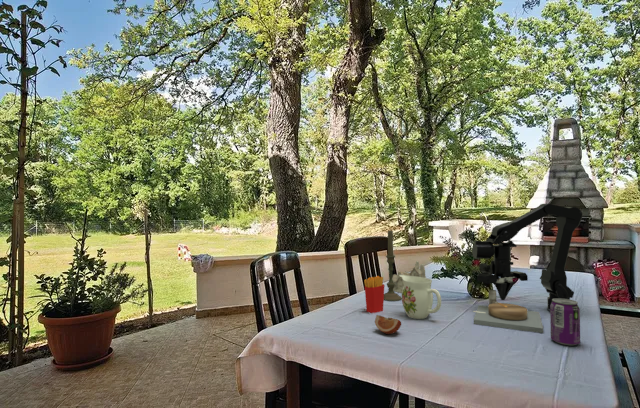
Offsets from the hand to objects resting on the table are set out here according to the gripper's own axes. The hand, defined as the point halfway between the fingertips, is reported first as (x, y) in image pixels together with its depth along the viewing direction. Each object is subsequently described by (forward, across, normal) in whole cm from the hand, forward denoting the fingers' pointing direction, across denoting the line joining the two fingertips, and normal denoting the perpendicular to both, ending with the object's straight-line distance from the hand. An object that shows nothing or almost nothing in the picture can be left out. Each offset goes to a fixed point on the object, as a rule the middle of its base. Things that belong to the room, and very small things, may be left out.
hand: (502, 299), depth 137 cm
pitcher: (+4, +34, -3) cm, 35 cm away
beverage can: (+4, +8, +32) cm, 33 cm away
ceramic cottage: (+4, +15, -41) cm, 44 cm away
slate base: (+4, +7, +10) cm, 13 cm away
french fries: (+4, +46, -15) cm, 49 cm away
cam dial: (+2, +7, +7) cm, 10 cm away
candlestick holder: (+4, +31, -30) cm, 43 cm away
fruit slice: (+4, +52, +8) cm, 53 cm away
